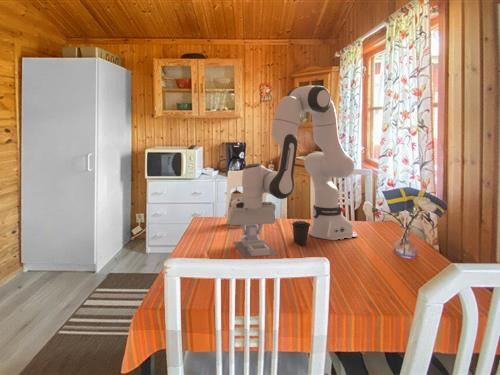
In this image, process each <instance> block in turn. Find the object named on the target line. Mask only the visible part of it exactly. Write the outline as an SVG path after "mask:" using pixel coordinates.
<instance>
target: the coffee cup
mask: <svg viewBox="0 0 500 375" xmlns="http://www.w3.org/2000/svg"><path fill="white" fill-rule="evenodd" d="M291 226H292V233H293V235H292V237H293V243H295V244H297V245H299V246H300V247H306V245H307V244H308V243H307V242H308V235H309V232H310V230H309V229H310V227H311V223H309V222H307V221H303V220H296V221H293V222H292V223H291Z"/></svg>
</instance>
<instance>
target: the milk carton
mask: <svg viewBox="0 0 500 375" xmlns="http://www.w3.org/2000/svg"><path fill="white" fill-rule="evenodd" d="M241 197H242V192H241V191H239V190H238V188H237V187H235V190H234V191H233V192H232V193H230V197H229V202H228V212H229V209H230V207H232V206H231V201H233V200H236V199H238V198H241ZM228 212H227V213H228ZM226 228H233V229H234V228H237V229H242V228H241V226H240V225H230V224H229V223H228V218H227V219H226ZM243 228H244V229H246V226H245V227H243Z"/></svg>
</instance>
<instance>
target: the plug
mask: <svg viewBox="0 0 500 375" xmlns="http://www.w3.org/2000/svg"><path fill="white" fill-rule="evenodd" d="M257 229H258V225H257V224H254V225H245V230H247V235H244V236H245V239H246V240H257V236H258V234H257Z"/></svg>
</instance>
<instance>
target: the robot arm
mask: <svg viewBox="0 0 500 375" xmlns="http://www.w3.org/2000/svg"><path fill="white" fill-rule="evenodd" d="M303 113H310V115H311V125H312V135H313V141H314V143H315V144H316V145H317V146H318V147H319V149H321V151H322V152H321V151H316V152H310V153H309V154H307V155H306V157H305V159H304V169H305V170H306V172H307V173H308V174H309V176H310V178H311V181H312V184H313V187H314V204H313V206H312V217H313V218H312V223H311V226H310V227H311V228H310V230H309V232H308V235H310V236H311V237H314V238H318V239H324V240H329V241H337V240H338V239H340V240H345V239H344V238H348V239H353V238H352V237H356V238H358V233H357V232H355V231H354V229H353V228H354V227H353V224H352V222H351V221H350V220H349V219H348V218H347V217H345V216H344V215H343V214H342V213H345V212H346V208H344V207H340V206H339V196H340V195H339V194H340V191H339V189H338V187H337V186H336V185H335V184H334V183H333V180H332V178H334V179H344V178H345V179H346V178H349V177H351V175H352V174H353V172H354V169H355V163H354V159H353V158H352V157H351V156H350V155H348V153H347V152H346V151H345V150H344V148H343V146H342V143H341V140H340V135H339V128H338V126H339V125H338V118H337V112H336V108H335V105H334V102H333V101H332V97H331V94H330V92H329V89H328V88H326V87H325V86H322V85H305V86H296V87H293V88H291V89H290V90H289V91H288V92H287V94H286V96H283V97H282V98H281V99H280V100H279V102H278V104H277V107H276V109H275V112H274V116H273V120H272V124H271V129H270V130H271V137H272V138H273V140H274V142H275V143H276V144H278V147H279V149H280V157H279V163H278V170H277V171H273V170H271V169H269V168H267V167H265V166H264V165H263V164H261V163H258V162H256V163H250V164H247V165H245V166H244V167H243V170H242V178H241V186H242V187H241V188H242V192H241V193H242V197H241V198H238V199H236V200H233V201H231V206H232V207H230V209H229V208H228V210H229V212H227V219H228V223H229V224H230V225H240V226H241V228H240V229H241V230H242V236H245V235H247V230H246V225H254V224H255V225H257V235H260V231H261V229H262V228H263V225H272V224H274V223H275V222H276V213H275V212H276V207H277V206H276V204H275V203H274V202H272V201H267V202H266V201H263V198H264V196H263V195H264V194H265V193H266V194H268V195H271V196H273V198H274V197H275V198H276V199H279V200H284V199H287V198H289V197H290V196H291V195H292V194H293V192H294V189H295V179H294V173H295V172H294V171H295V166H296V157H297V152H298V131H299V126H300V122H301V117H302V114H303ZM243 227H245V228H243ZM338 241H339V240H338Z"/></svg>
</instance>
